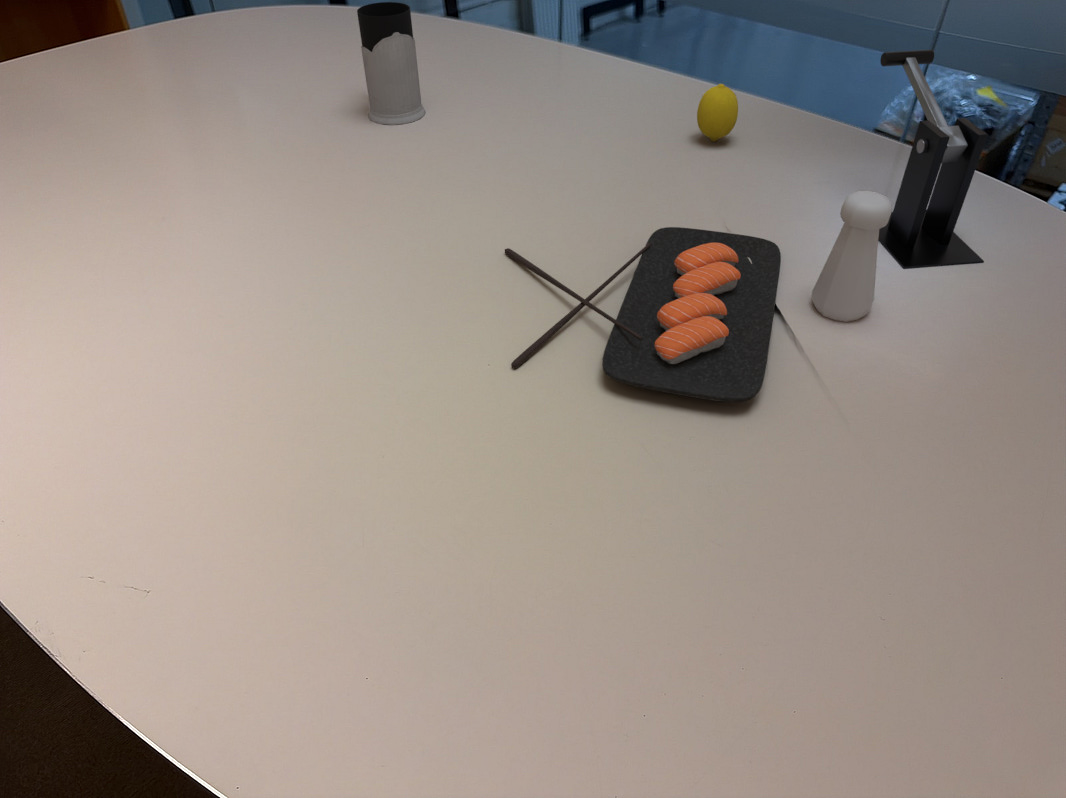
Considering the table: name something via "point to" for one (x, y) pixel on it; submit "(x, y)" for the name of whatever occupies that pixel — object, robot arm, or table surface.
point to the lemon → (717, 112)
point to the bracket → (933, 201)
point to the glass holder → (390, 63)
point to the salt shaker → (853, 259)
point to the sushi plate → (688, 315)
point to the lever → (927, 97)
